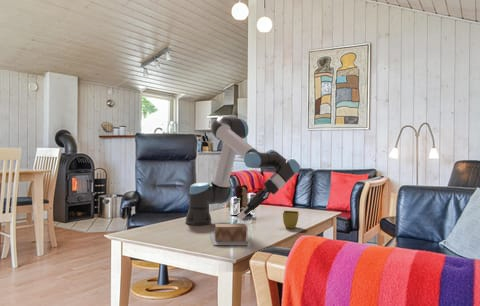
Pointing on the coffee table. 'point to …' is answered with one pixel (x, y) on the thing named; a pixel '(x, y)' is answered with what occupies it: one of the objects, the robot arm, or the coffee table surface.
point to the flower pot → (290, 218)
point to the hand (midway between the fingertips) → (239, 217)
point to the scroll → (243, 192)
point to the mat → (226, 242)
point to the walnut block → (231, 232)
